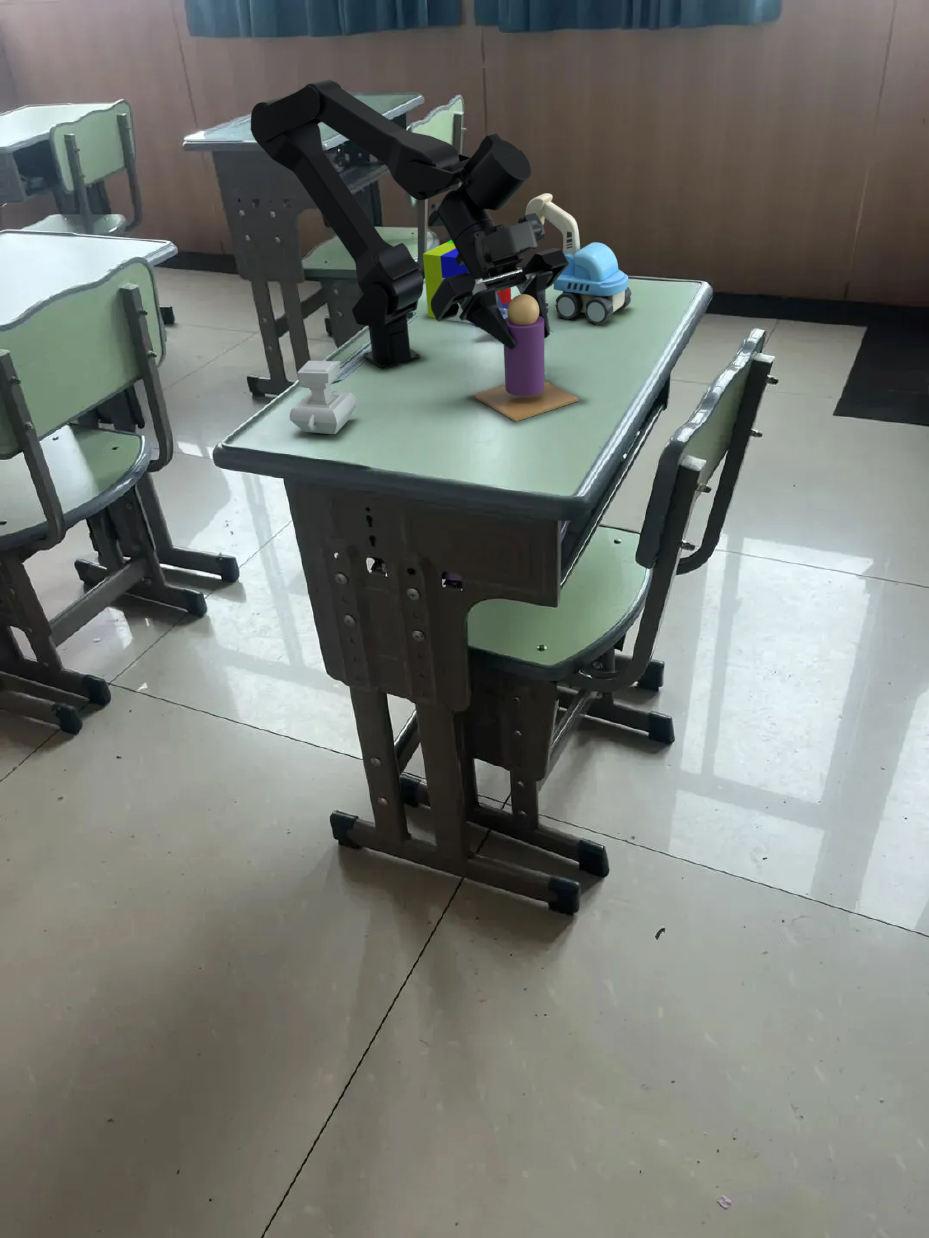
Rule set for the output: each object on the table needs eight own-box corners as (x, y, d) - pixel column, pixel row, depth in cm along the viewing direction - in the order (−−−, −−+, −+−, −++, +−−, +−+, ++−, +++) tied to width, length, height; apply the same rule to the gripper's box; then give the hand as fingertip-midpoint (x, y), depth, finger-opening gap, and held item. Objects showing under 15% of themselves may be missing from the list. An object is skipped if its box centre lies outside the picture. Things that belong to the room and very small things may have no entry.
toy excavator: (547, 296, 155) (546, 187, 145) (636, 310, 147) (641, 195, 136) (519, 312, 150) (516, 199, 139) (610, 327, 141) (613, 209, 131)
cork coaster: (473, 397, 124) (473, 394, 123) (534, 378, 127) (534, 375, 127) (515, 422, 117) (515, 419, 116) (578, 401, 120) (578, 398, 120)
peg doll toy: (497, 387, 122) (493, 294, 115) (529, 377, 124) (528, 285, 117) (519, 399, 118) (517, 305, 111) (552, 389, 120) (552, 295, 113)
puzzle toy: (480, 324, 146) (476, 260, 140) (428, 317, 150) (422, 254, 145) (511, 305, 152) (509, 242, 146) (460, 298, 157) (456, 237, 151)
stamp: (318, 412, 123) (307, 351, 118) (363, 415, 121) (355, 353, 116) (288, 441, 116) (276, 378, 111) (336, 445, 114) (326, 381, 109)
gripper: (435, 209, 106) (497, 327, 105) (559, 179, 114) (617, 289, 113) (405, 265, 116) (461, 373, 115) (521, 234, 124) (574, 335, 123)
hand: (530, 342), depth 116 cm, fingers closed on peg doll toy, 5 cm apart
